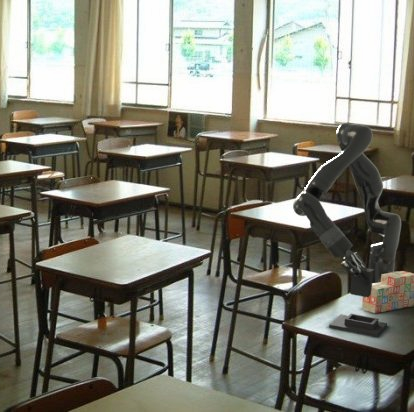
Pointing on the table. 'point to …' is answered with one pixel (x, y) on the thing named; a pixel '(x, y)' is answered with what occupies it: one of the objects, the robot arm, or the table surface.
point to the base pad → (359, 324)
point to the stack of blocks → (391, 292)
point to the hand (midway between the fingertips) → (367, 281)
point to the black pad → (360, 288)
